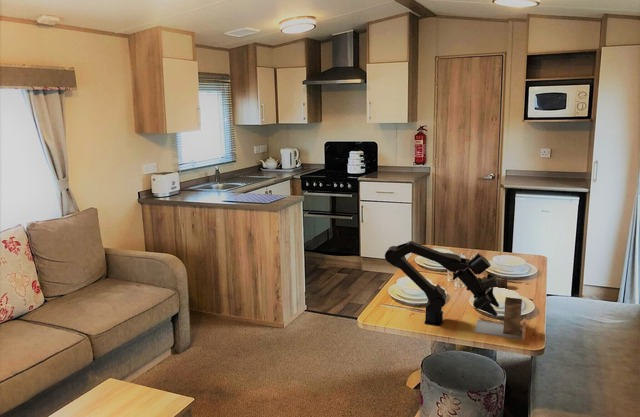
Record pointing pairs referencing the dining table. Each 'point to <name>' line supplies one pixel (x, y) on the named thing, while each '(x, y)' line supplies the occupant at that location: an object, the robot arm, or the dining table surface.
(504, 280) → the bolt
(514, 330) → the brown wooden block
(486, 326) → the bay
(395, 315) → the dining table surface
